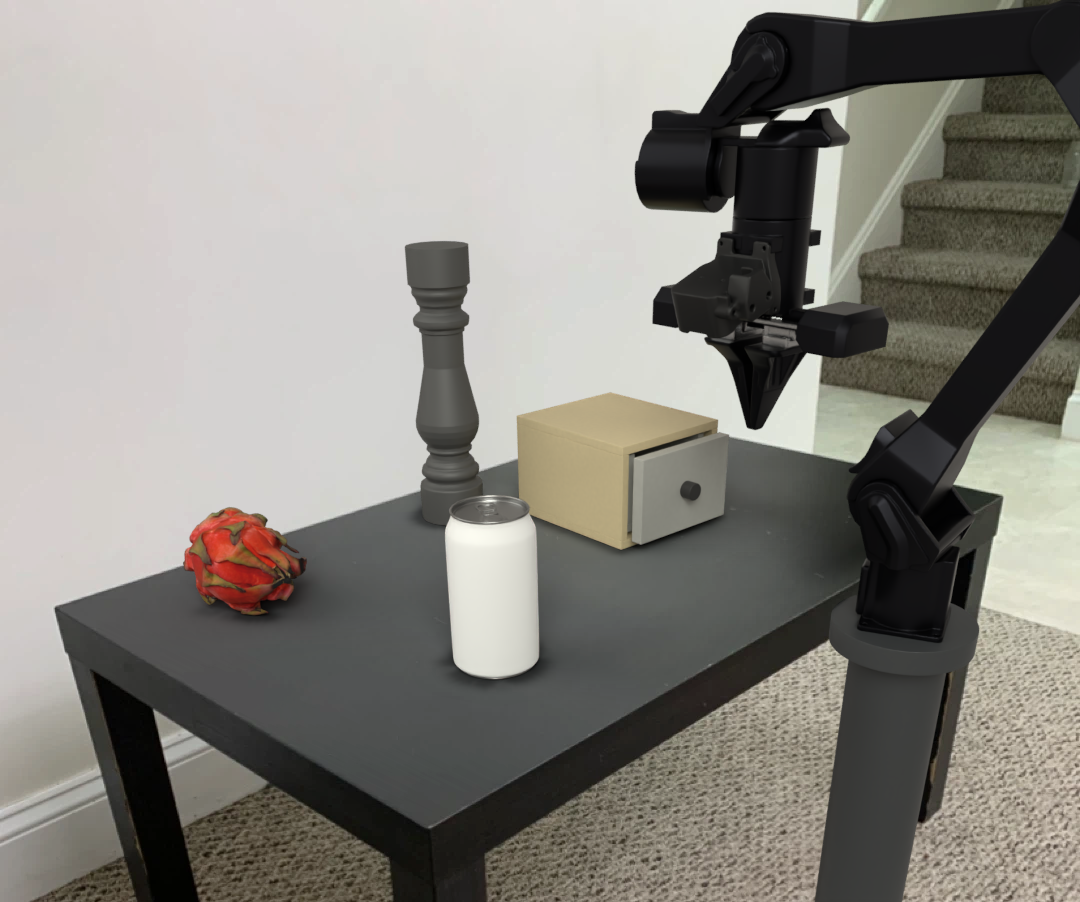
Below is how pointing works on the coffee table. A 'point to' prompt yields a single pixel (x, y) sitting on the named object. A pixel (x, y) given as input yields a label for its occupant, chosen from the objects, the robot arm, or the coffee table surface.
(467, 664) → the can
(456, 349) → the candle holder
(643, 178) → the robot arm
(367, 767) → the coffee table surface
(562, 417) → the small drawer cabinet
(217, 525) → the dragon fruit
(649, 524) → the grey drawer with knob
